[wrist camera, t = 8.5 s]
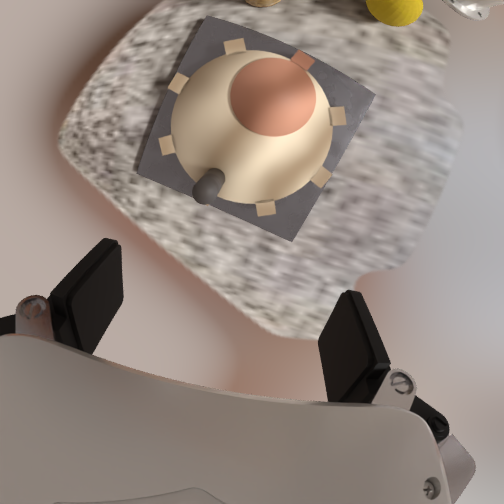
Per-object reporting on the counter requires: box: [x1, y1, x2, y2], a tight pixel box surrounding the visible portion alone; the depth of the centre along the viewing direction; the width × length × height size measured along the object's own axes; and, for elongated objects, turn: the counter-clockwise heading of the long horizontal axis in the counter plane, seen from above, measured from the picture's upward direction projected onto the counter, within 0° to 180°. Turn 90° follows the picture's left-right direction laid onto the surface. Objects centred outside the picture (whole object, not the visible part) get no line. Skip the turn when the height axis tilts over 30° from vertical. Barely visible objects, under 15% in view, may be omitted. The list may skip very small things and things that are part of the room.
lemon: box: [366, 0, 423, 27], centre depth 15 cm, size 6×6×8 cm
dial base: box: [137, 16, 376, 242], centre depth 25 cm, size 19×19×1 cm
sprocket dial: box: [158, 38, 347, 217], centre depth 22 cm, size 18×18×7 cm
